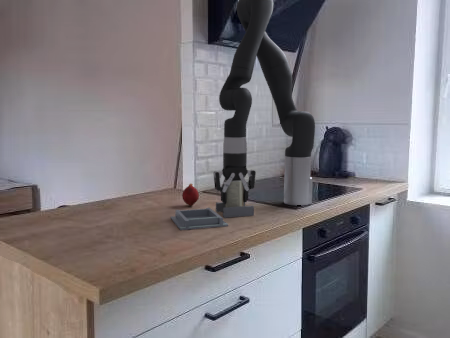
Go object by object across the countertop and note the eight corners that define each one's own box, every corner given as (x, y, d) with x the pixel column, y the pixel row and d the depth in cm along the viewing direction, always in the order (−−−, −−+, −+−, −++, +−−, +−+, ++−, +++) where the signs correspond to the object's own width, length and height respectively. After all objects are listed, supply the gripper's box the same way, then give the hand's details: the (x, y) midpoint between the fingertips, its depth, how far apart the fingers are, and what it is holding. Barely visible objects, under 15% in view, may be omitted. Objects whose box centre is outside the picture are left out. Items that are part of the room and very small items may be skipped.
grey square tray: (213, 214, 132) (213, 206, 131) (228, 226, 118) (228, 217, 118) (170, 218, 127) (170, 209, 127) (180, 230, 114) (180, 220, 114)
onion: (196, 208, 141) (196, 185, 140) (180, 207, 142) (180, 184, 141) (200, 204, 147) (200, 182, 146) (185, 203, 148) (185, 182, 147)
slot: (243, 209, 140) (243, 200, 139) (253, 215, 131) (253, 206, 131) (215, 211, 136) (215, 202, 136) (224, 217, 128) (224, 208, 128)
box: (244, 212, 135) (244, 179, 134) (240, 215, 131) (240, 181, 130) (228, 211, 137) (229, 178, 135) (224, 214, 133) (224, 180, 131)
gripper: (251, 149, 137) (250, 199, 139) (210, 150, 132) (209, 201, 135) (260, 151, 130) (259, 203, 132) (216, 152, 125) (216, 206, 128)
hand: (234, 202), depth 133 cm, fingers closed on box, 6 cm apart
